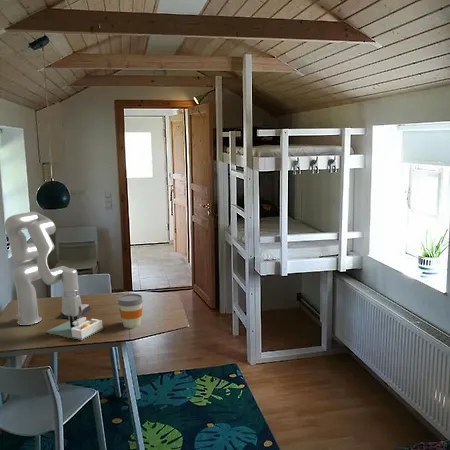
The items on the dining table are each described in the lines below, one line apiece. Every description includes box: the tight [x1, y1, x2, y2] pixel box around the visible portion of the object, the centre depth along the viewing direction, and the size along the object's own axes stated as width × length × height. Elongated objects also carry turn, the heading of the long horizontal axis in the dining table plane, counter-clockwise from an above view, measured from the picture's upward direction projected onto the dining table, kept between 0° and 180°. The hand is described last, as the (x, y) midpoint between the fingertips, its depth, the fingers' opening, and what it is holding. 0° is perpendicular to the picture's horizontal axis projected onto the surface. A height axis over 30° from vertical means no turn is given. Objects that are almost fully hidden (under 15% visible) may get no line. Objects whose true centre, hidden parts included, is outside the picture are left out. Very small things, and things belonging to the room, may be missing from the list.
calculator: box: [60, 303, 91, 320], centre depth 274 cm, size 11×4×15 cm
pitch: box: [45, 320, 104, 341], centre depth 248 cm, size 24×16×1 cm, turn 63°
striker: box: [72, 316, 91, 330], centre depth 246 cm, size 4×11×6 cm, turn 153°
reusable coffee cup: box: [117, 293, 144, 329], centre depth 253 cm, size 13×13×15 cm
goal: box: [71, 318, 104, 339], centre depth 244 cm, size 6×15×4 cm, turn 153°
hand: (73, 326), depth 248 cm, fingers closed
